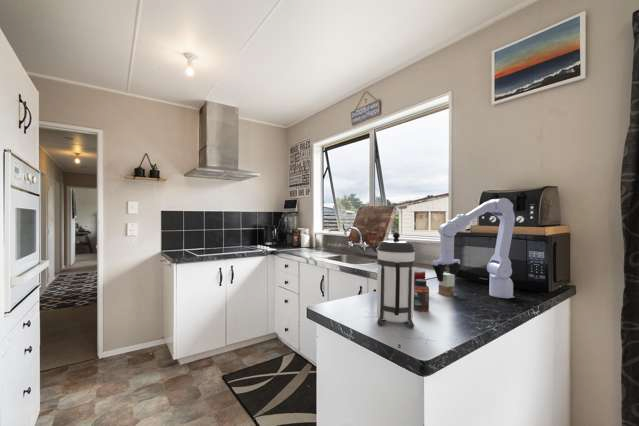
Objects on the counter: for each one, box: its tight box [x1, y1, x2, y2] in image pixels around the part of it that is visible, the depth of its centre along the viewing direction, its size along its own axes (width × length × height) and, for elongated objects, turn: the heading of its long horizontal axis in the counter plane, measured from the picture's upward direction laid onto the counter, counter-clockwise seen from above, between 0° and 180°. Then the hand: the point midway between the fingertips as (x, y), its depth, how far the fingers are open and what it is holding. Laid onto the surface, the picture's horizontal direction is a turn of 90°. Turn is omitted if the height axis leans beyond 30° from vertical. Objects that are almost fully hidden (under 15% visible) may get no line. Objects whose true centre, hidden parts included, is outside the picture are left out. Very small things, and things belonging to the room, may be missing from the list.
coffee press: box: [376, 232, 417, 329], centre depth 100 cm, size 17×16×30 cm
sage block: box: [438, 272, 456, 287], centre depth 135 cm, size 4×4×5 cm
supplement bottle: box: [413, 279, 430, 313], centre depth 115 cm, size 6×6×11 cm
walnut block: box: [438, 284, 455, 297], centre depth 135 cm, size 4×4×4 cm
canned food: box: [414, 268, 426, 285], centre depth 137 cm, size 8×8×11 cm
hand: (446, 280), depth 135 cm, fingers open, 7 cm apart
